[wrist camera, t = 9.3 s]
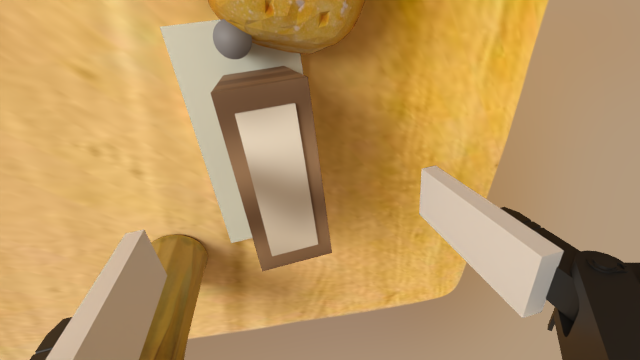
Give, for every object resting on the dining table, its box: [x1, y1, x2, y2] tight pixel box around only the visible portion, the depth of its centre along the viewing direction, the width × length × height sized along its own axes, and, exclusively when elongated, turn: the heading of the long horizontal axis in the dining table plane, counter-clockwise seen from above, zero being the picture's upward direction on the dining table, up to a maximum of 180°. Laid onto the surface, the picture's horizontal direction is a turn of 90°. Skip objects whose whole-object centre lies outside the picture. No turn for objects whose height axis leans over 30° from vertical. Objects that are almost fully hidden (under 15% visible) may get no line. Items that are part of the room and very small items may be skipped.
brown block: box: [211, 66, 332, 271], centre depth 22 cm, size 12×5×10 cm, turn 8°
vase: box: [139, 235, 208, 360], centre depth 24 cm, size 6×6×14 cm
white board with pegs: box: [160, 19, 303, 243], centre depth 25 cm, size 10×20×6 cm, turn 7°
